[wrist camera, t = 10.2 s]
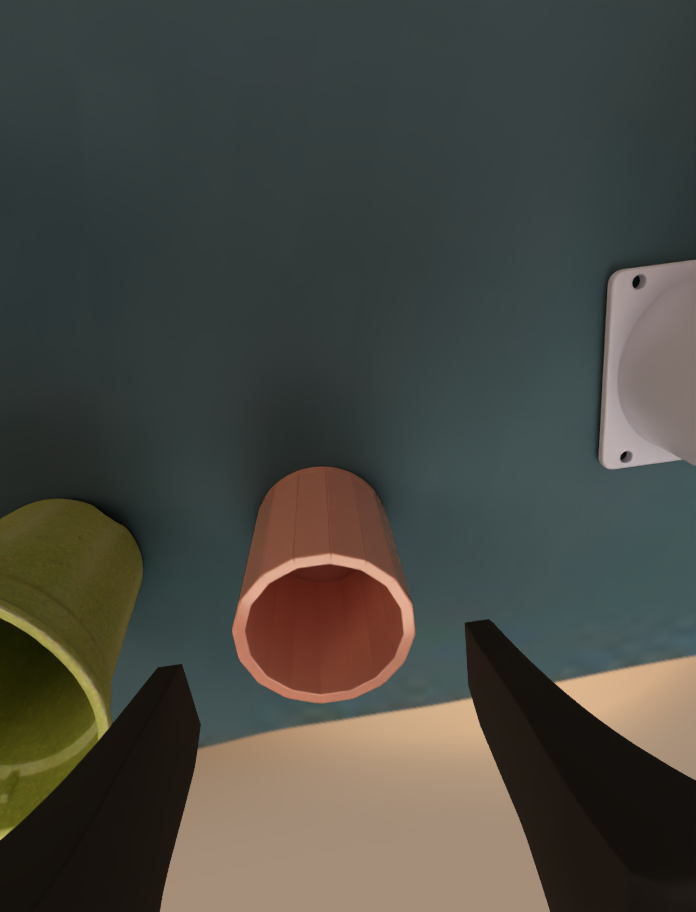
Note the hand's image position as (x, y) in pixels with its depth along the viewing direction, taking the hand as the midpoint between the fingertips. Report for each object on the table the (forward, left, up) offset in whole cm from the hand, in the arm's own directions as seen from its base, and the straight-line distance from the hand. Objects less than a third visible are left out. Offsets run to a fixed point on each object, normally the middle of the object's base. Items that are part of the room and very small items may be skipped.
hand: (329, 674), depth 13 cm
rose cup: (0, +1, -10) cm, 10 cm away
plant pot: (+11, +1, -10) cm, 15 cm away
